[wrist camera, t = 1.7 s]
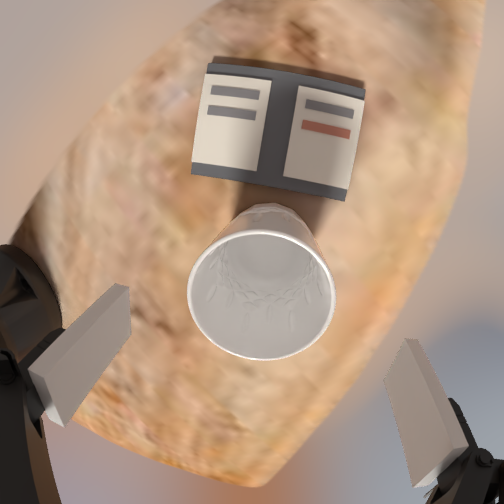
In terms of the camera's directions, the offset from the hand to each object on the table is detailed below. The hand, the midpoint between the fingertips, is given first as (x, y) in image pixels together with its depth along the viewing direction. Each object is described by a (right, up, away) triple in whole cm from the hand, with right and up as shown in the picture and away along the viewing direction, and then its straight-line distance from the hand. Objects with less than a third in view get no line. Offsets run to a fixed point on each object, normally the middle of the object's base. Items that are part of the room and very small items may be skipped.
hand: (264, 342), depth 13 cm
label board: (+1, +13, +9) cm, 16 cm away
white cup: (+1, +5, +12) cm, 13 cm away
